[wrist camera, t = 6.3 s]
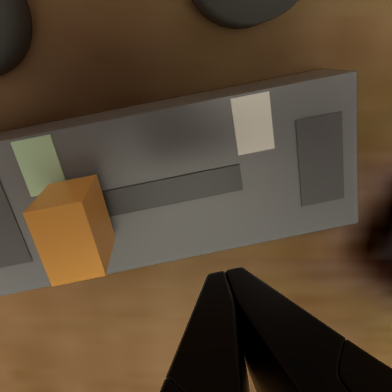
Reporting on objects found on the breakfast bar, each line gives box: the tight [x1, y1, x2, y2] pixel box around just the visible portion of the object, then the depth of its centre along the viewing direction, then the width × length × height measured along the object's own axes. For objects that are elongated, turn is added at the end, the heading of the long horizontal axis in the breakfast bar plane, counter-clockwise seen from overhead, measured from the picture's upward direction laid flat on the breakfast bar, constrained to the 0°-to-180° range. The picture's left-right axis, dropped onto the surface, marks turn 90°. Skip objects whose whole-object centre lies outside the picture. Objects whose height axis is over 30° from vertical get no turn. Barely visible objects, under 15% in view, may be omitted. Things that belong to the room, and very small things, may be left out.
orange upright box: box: [23, 174, 116, 287], centre depth 14 cm, size 3×2×3 cm, turn 10°
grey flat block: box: [0, 69, 358, 296], centre depth 17 cm, size 7×18×4 cm, turn 100°
